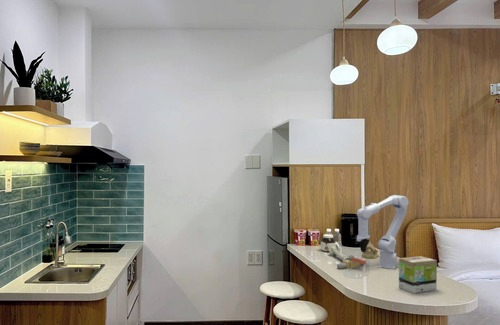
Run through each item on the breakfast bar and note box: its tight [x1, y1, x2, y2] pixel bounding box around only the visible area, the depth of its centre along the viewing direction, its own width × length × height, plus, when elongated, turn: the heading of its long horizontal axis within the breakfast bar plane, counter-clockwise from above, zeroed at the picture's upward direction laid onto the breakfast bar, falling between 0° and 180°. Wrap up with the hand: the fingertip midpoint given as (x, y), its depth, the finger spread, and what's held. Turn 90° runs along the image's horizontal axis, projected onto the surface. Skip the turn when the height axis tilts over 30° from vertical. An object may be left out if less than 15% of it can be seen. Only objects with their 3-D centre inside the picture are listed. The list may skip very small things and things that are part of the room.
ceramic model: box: [361, 241, 380, 259], centre depth 250 cm, size 14×11×10 cm
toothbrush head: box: [329, 247, 349, 261], centre depth 242 cm, size 5×7×25 cm
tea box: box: [398, 255, 438, 294], centre depth 182 cm, size 15×10×15 cm
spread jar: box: [320, 233, 341, 254], centre depth 265 cm, size 12×11×12 cm
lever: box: [348, 255, 367, 265], centre depth 218 cm, size 12×3×2 cm, turn 30°
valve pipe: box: [336, 259, 366, 270], centre depth 222 cm, size 20×6×4 cm, turn 120°
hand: (363, 251), depth 220 cm, fingers closed
